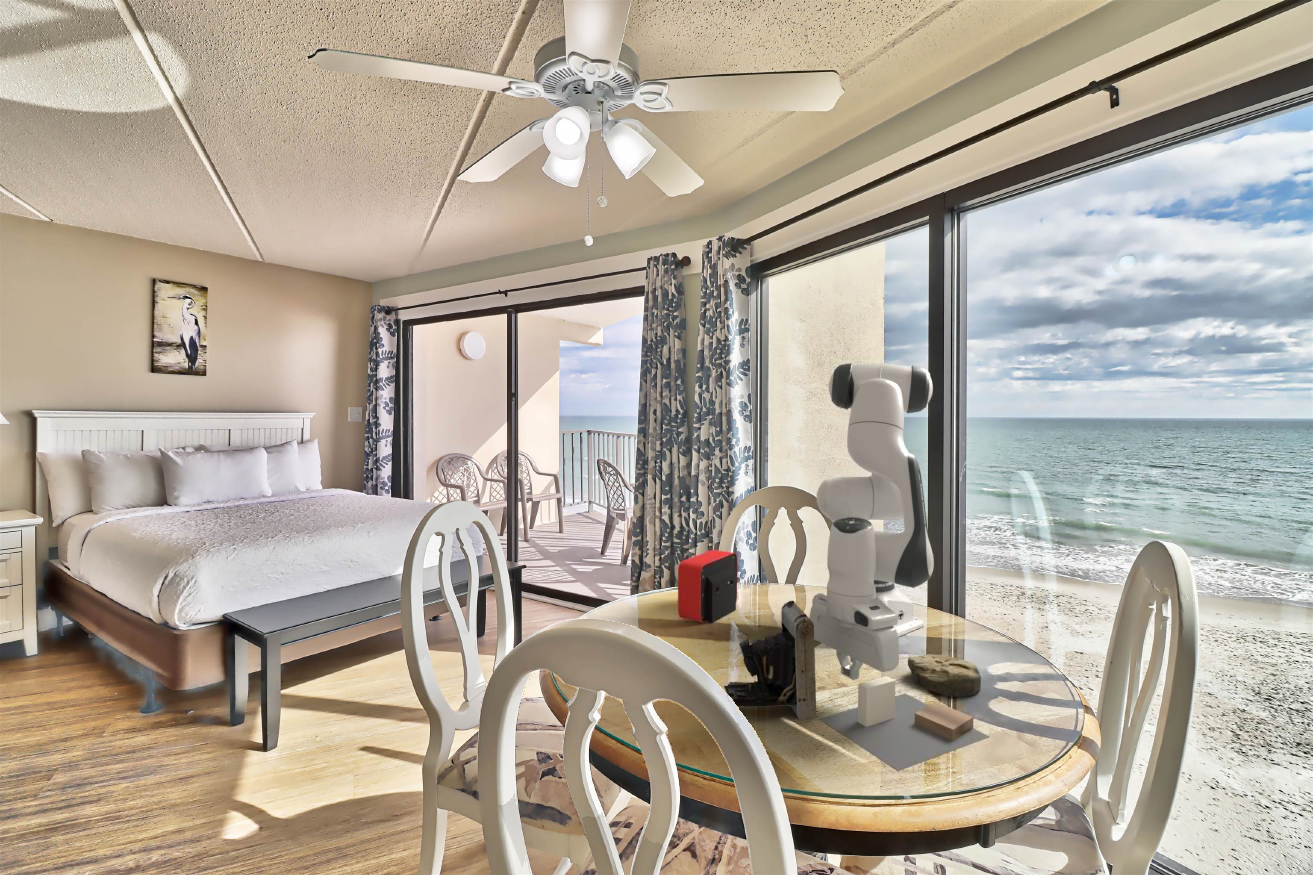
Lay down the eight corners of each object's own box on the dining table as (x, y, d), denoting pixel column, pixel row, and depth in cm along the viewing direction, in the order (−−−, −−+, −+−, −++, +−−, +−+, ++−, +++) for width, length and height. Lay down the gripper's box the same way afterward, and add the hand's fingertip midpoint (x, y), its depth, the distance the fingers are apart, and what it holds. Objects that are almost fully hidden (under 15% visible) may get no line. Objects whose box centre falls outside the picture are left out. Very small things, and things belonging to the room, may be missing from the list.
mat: (905, 696, 123) (905, 693, 123) (989, 740, 107) (989, 736, 107) (818, 721, 113) (818, 718, 113) (897, 774, 97) (897, 770, 97)
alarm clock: (743, 607, 177) (744, 552, 176) (707, 627, 161) (707, 567, 160) (714, 601, 183) (714, 548, 182) (676, 620, 166) (676, 562, 166)
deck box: (885, 712, 115) (886, 675, 115) (894, 717, 113) (895, 680, 113) (857, 721, 112) (857, 683, 112) (866, 726, 110) (866, 688, 110)
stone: (958, 707, 119) (959, 680, 119) (897, 681, 130) (898, 656, 130) (994, 690, 126) (995, 664, 126) (934, 667, 137) (934, 643, 137)
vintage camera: (723, 703, 121) (720, 603, 120) (800, 697, 122) (799, 598, 121) (733, 730, 112) (730, 622, 110) (817, 723, 113) (815, 616, 111)
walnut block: (935, 712, 115) (935, 701, 115) (973, 728, 110) (973, 717, 110) (914, 724, 111) (914, 713, 111) (952, 740, 106) (953, 729, 106)
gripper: (801, 592, 126) (800, 660, 126) (879, 623, 107) (878, 702, 108) (825, 588, 128) (824, 654, 129) (905, 618, 110) (904, 694, 111)
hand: (849, 676), depth 118 cm, fingers closed
